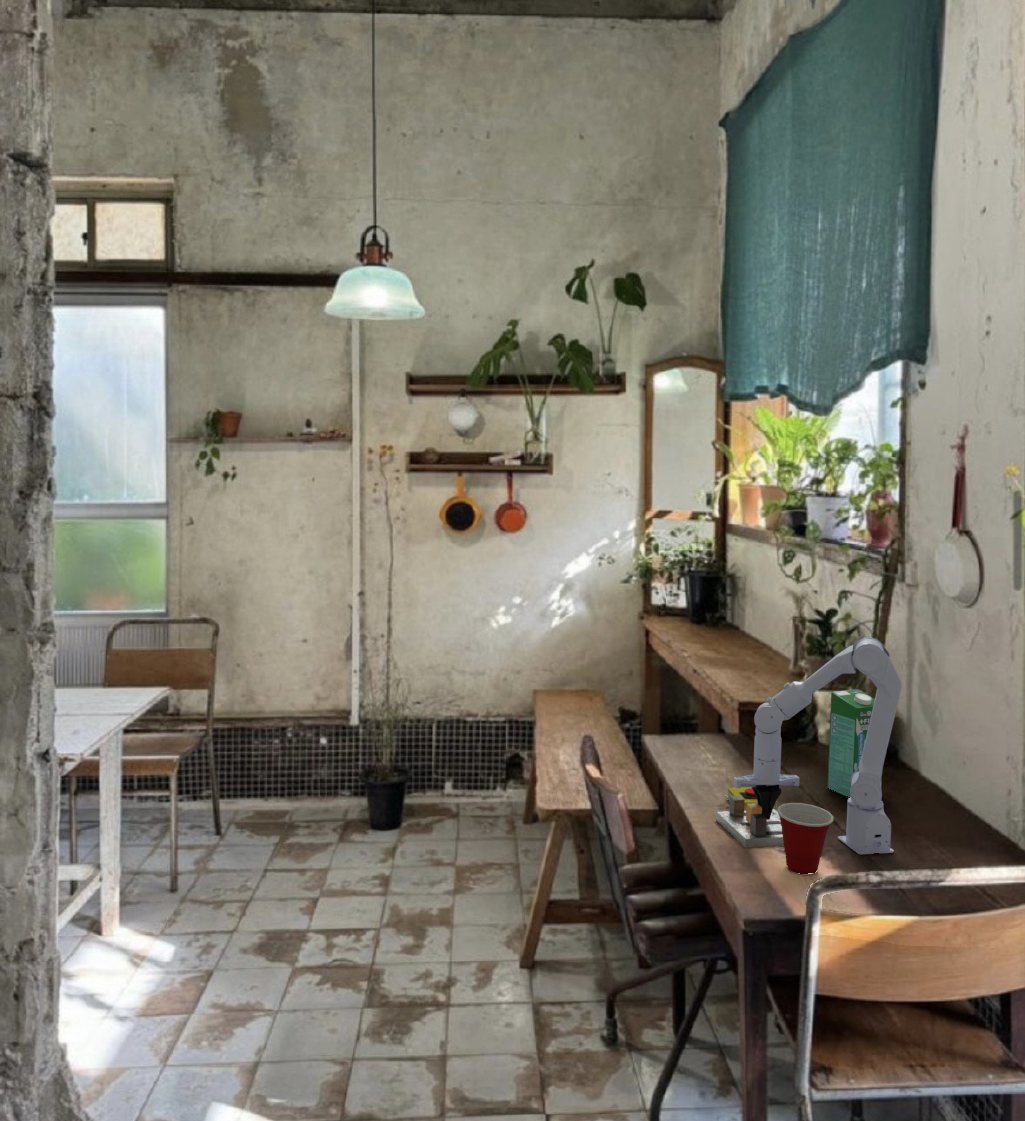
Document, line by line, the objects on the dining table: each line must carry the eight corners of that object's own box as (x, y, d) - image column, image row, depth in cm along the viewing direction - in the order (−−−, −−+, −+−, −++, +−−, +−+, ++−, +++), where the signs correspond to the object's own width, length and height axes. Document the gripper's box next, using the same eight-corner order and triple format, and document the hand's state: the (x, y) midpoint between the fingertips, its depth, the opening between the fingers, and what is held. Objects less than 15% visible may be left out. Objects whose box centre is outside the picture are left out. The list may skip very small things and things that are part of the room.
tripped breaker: (761, 824, 215) (761, 806, 215) (750, 824, 214) (751, 807, 214) (756, 819, 218) (756, 802, 217) (745, 820, 217) (746, 803, 217)
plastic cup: (808, 885, 188) (810, 824, 187) (763, 867, 197) (765, 808, 196) (843, 872, 195) (845, 813, 194) (798, 855, 203) (800, 798, 202)
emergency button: (742, 799, 226) (724, 779, 241) (741, 818, 227) (723, 797, 242) (781, 799, 227) (761, 779, 242) (780, 817, 227) (760, 796, 242)
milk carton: (852, 799, 240) (857, 698, 238) (827, 788, 248) (831, 691, 246) (881, 794, 243) (885, 695, 241) (854, 784, 252) (858, 688, 249)
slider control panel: (807, 844, 209) (808, 817, 209) (745, 847, 207) (746, 820, 207) (774, 817, 226) (775, 792, 225) (716, 820, 224) (717, 794, 223)
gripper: (790, 751, 220) (788, 810, 221) (729, 753, 218) (727, 813, 219) (804, 760, 213) (802, 821, 215) (741, 762, 211) (739, 824, 212)
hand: (765, 818), depth 216 cm, fingers closed
